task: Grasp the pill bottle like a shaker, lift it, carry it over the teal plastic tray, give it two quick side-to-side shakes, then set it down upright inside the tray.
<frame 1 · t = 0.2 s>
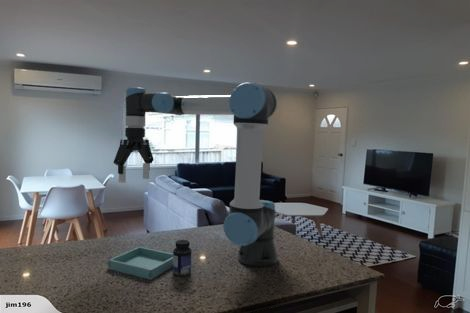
hand: (134, 180, 138), 28 cm above the counter, fingers open, 13 cm apart
pill bottle: (181, 274, 117), on the counter
tray: (144, 265, 122), on the counter
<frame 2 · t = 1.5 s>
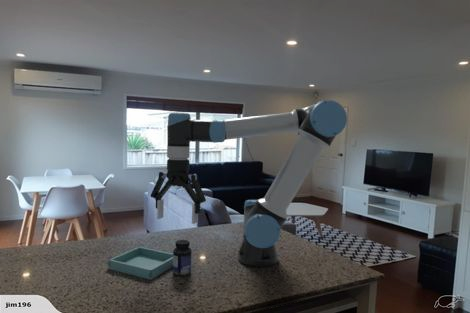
hand: (177, 220, 118), 17 cm above the counter, fingers open, 13 cm apart
nothing on the counter moved.
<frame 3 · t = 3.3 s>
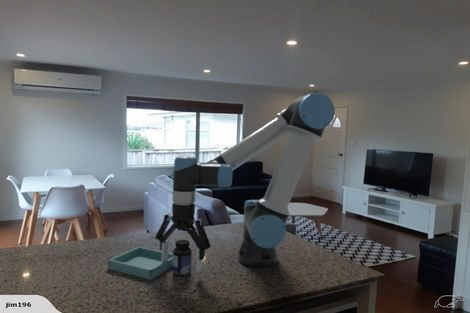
hand: (181, 264, 117), 3 cm above the counter, fingers open, 13 cm apart
nothing on the counter moved.
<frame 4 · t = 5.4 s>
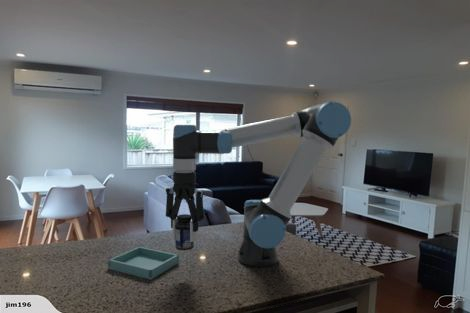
hand: (184, 239, 116), 12 cm above the counter, fingers closed on pill bottle, 6 cm apart
pill bottle: (184, 248, 116), point 9 cm above the counter, touching gripper
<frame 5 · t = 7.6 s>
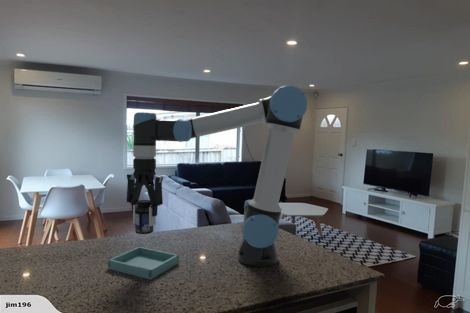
hand: (144, 223, 120), 15 cm above the counter, fingers closed on pill bottle, 6 cm apart
pill bottle: (144, 232, 120), point 12 cm above the counter, touching gripper
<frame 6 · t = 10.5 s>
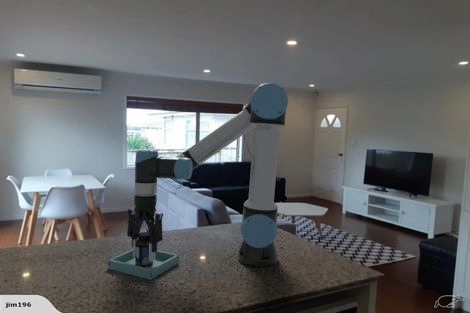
hand: (144, 258, 122), 3 cm above the counter, fingers closed on pill bottle, 6 cm apart
pill bottle: (144, 264, 122), resting on tray, touching gripper
when the fingers open (2 cm above the counter, at t = 10.9 s): pill bottle stays where it is, resting on tray.
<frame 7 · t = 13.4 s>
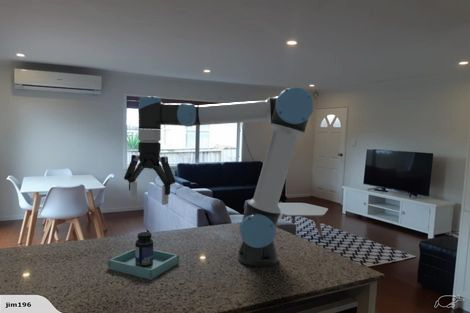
hand: (148, 202, 121), 23 cm above the counter, fingers open, 13 cm apart
pill bottle: (144, 264, 122), resting on tray
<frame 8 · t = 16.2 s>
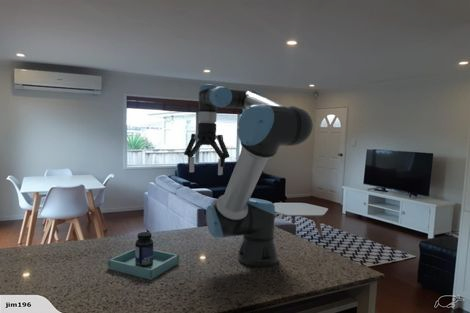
hand: (205, 173, 144), 31 cm above the counter, fingers open, 13 cm apart
nothing on the counter moved.
at the end: pill bottle inside the target area on the tray (0.2 cm from its centre), point 0.4 cm above the tray's base; pill bottle tilted 0°; the gripper is holding nothing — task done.
